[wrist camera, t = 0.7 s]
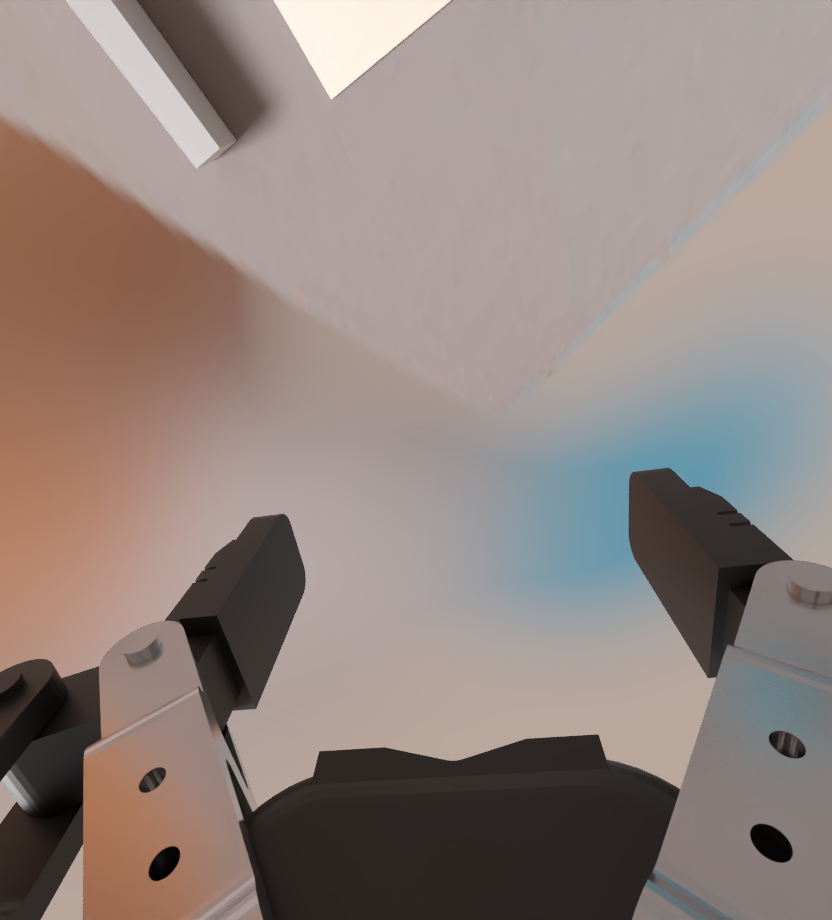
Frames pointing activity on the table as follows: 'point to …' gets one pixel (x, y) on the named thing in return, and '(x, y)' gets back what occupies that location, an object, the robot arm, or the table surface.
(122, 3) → the wall
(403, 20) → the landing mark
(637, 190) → the table surface
